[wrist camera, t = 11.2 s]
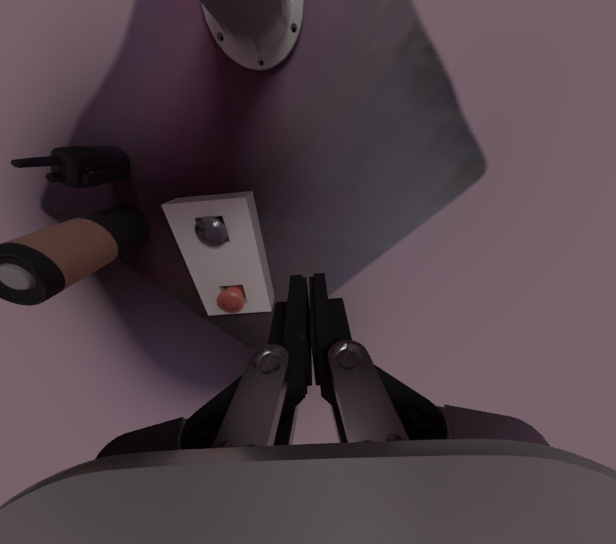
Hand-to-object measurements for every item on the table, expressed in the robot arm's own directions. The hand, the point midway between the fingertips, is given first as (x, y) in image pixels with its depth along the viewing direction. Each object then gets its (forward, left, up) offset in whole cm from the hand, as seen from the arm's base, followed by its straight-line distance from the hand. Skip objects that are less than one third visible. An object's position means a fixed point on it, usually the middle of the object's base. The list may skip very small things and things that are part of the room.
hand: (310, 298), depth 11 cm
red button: (+19, -17, -29) cm, 39 cm away
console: (+12, -17, -32) cm, 38 cm away
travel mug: (+4, -35, -32) cm, 48 cm away
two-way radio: (-6, -31, -32) cm, 45 cm away
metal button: (+5, -17, -31) cm, 35 cm away
